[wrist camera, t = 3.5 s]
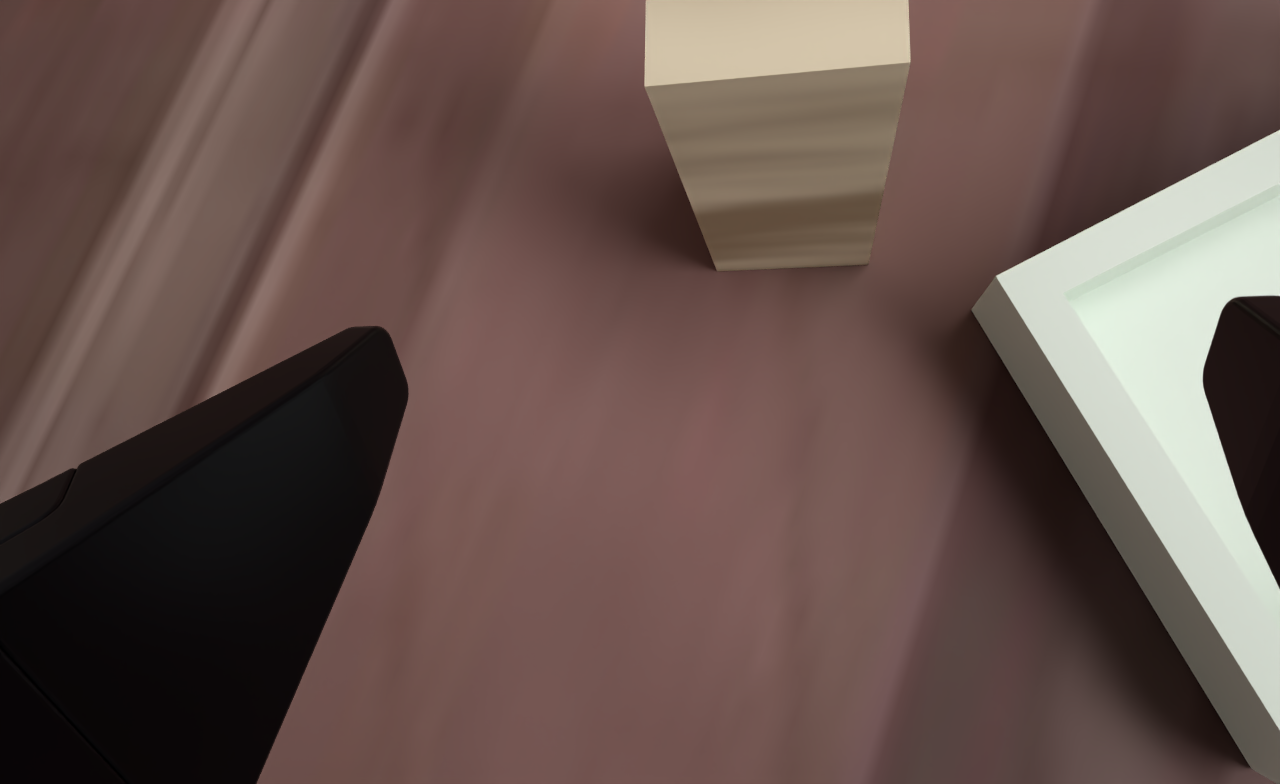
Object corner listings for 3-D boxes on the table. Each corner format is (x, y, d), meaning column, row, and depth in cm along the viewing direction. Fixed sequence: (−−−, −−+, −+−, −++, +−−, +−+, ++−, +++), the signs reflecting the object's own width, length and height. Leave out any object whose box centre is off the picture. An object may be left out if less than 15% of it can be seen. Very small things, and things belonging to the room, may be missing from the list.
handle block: (868, 264, 22) (910, 62, 12) (717, 271, 23) (644, 86, 13) (864, 121, 23) (901, -179, 13) (717, 133, 23) (647, -141, 14)
